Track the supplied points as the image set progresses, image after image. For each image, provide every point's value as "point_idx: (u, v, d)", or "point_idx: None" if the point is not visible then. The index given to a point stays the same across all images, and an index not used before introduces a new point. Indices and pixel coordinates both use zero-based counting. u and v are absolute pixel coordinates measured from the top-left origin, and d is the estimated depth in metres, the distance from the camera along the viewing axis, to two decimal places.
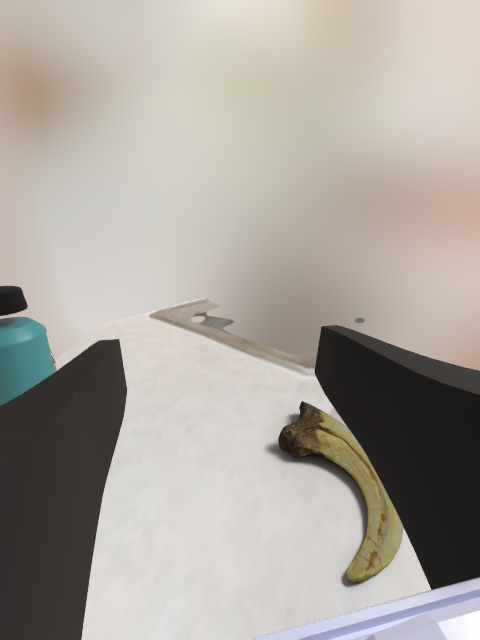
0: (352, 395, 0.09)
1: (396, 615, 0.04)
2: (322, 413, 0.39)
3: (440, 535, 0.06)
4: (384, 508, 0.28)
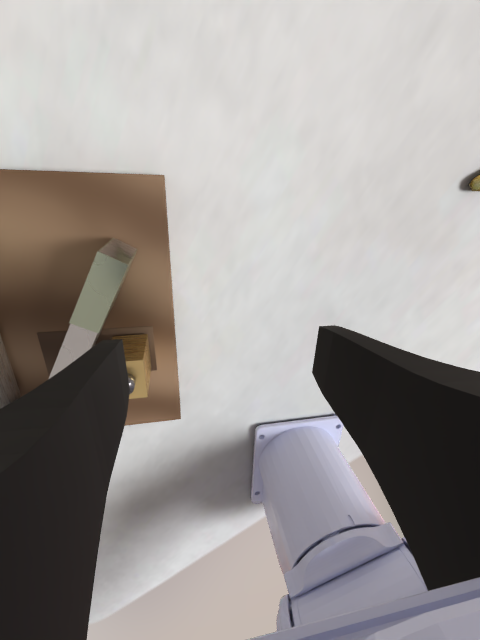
0: (349, 396, 0.09)
1: (396, 615, 0.04)
2: None
3: (436, 536, 0.06)
4: None
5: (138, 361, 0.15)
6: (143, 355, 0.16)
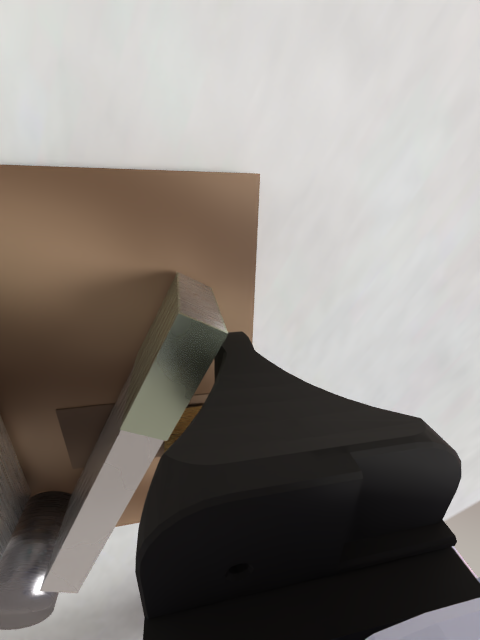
0: None
1: None
2: None
3: None
4: None
5: None
6: None
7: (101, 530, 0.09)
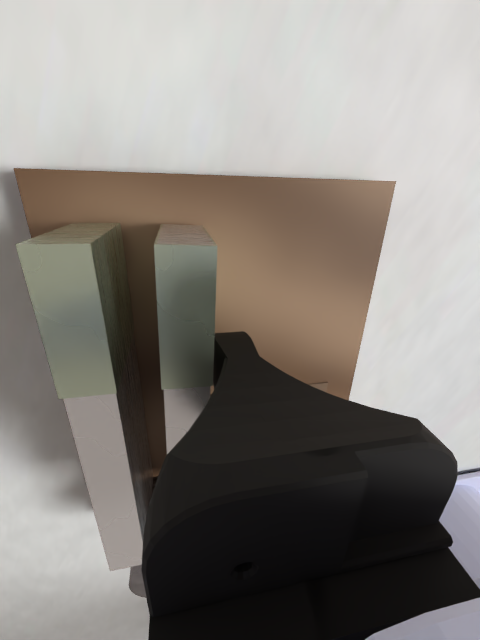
0: None
1: None
2: None
3: None
4: None
5: None
6: None
7: None
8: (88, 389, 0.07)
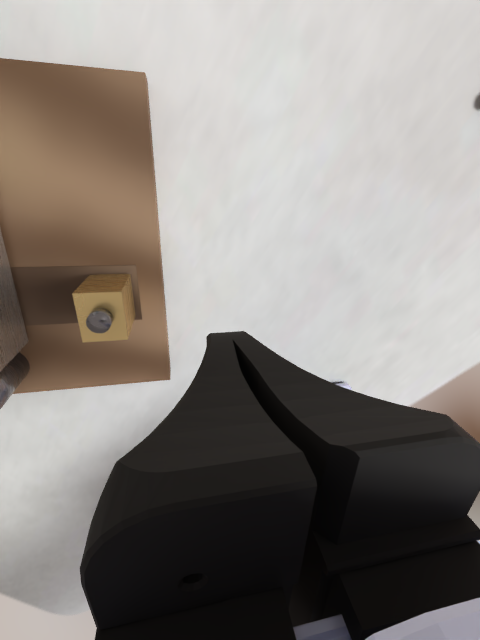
0: None
1: None
2: None
3: None
4: None
5: (115, 293, 0.13)
6: (122, 289, 0.14)
7: None
8: None
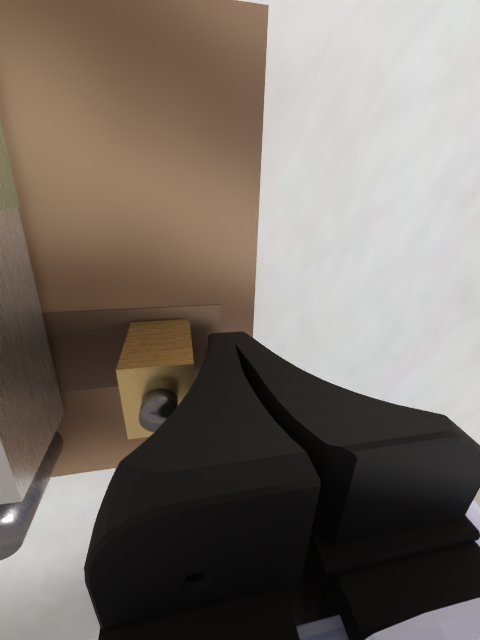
0: None
1: None
2: None
3: None
4: None
5: (185, 366, 0.08)
6: (191, 354, 0.09)
7: None
8: None
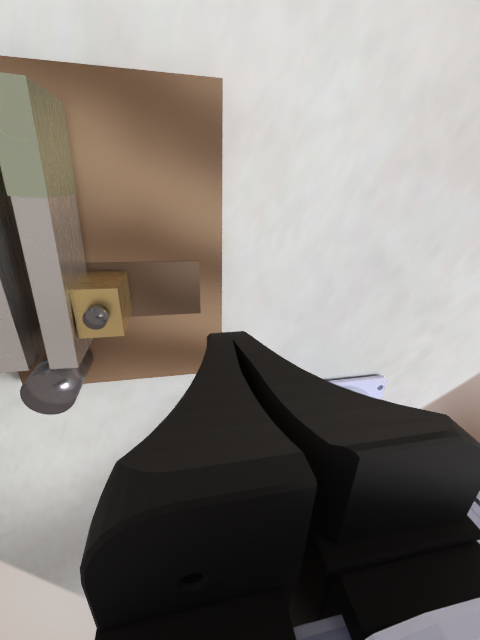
0: None
1: None
2: None
3: None
4: None
5: (112, 290, 0.13)
6: (118, 285, 0.14)
7: (58, 301, 0.13)
8: None
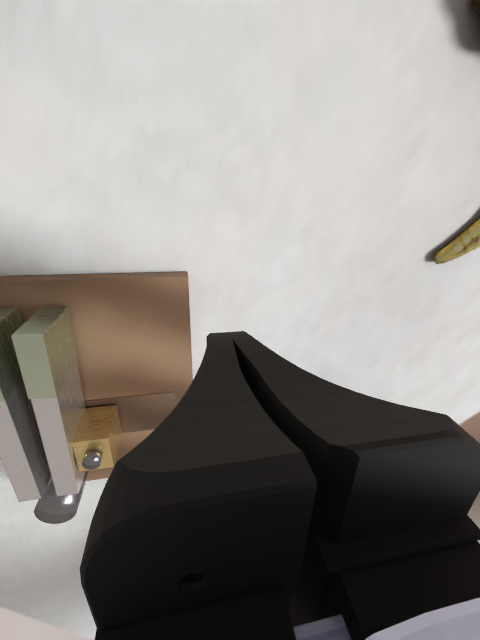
0: None
1: None
2: None
3: None
4: None
5: (104, 439, 0.18)
6: (109, 432, 0.18)
7: (63, 454, 0.17)
8: None
